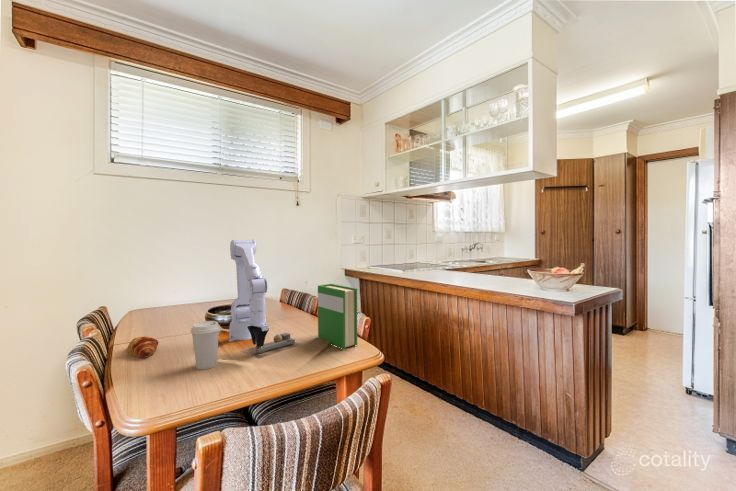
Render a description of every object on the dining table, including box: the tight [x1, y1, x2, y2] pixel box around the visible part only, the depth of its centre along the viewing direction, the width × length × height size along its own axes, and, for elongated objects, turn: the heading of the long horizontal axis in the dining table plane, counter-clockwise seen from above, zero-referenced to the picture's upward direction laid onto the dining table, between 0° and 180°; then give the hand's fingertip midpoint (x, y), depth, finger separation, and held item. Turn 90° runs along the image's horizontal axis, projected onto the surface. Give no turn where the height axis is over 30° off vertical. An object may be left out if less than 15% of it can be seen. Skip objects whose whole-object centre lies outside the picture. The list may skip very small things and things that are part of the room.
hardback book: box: [317, 283, 358, 350], centre depth 140 cm, size 18×7×24 cm, turn 43°
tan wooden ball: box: [273, 334, 283, 343], centre depth 136 cm, size 4×4×4 cm
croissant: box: [126, 335, 160, 359], centre depth 130 cm, size 21×10×8 cm, turn 44°
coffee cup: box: [189, 320, 221, 370], centre depth 116 cm, size 10×10×15 cm
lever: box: [255, 337, 296, 353], centre depth 130 cm, size 16×2×6 cm, turn 133°
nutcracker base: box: [241, 332, 301, 359], centre depth 131 cm, size 20×12×4 cm, turn 141°
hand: (258, 345), depth 126 cm, fingers open, 3 cm apart
